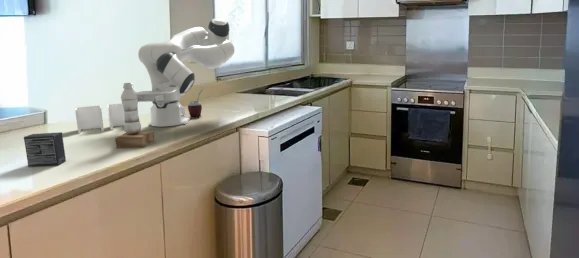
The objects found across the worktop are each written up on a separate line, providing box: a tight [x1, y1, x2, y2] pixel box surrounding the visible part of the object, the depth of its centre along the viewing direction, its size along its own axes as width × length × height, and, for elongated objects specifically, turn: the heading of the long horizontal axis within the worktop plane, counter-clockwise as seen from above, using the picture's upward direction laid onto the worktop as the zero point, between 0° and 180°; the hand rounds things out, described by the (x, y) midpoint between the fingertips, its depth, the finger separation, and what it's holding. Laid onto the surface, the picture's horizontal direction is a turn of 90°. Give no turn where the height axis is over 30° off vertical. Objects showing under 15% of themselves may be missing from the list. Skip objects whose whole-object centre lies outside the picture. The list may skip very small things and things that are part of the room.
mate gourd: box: [187, 88, 204, 119], centre depth 248 cm, size 8×8×15 cm
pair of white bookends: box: [74, 102, 125, 135], centre depth 226 cm, size 25×11×11 cm, turn 113°
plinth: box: [114, 130, 156, 149], centre depth 189 cm, size 11×11×4 cm
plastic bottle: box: [120, 82, 142, 134], centre depth 187 cm, size 6×7×20 cm
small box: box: [23, 131, 67, 168], centre depth 164 cm, size 11×6×10 cm, turn 92°
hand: (144, 99), depth 197 cm, fingers open, 8 cm apart
